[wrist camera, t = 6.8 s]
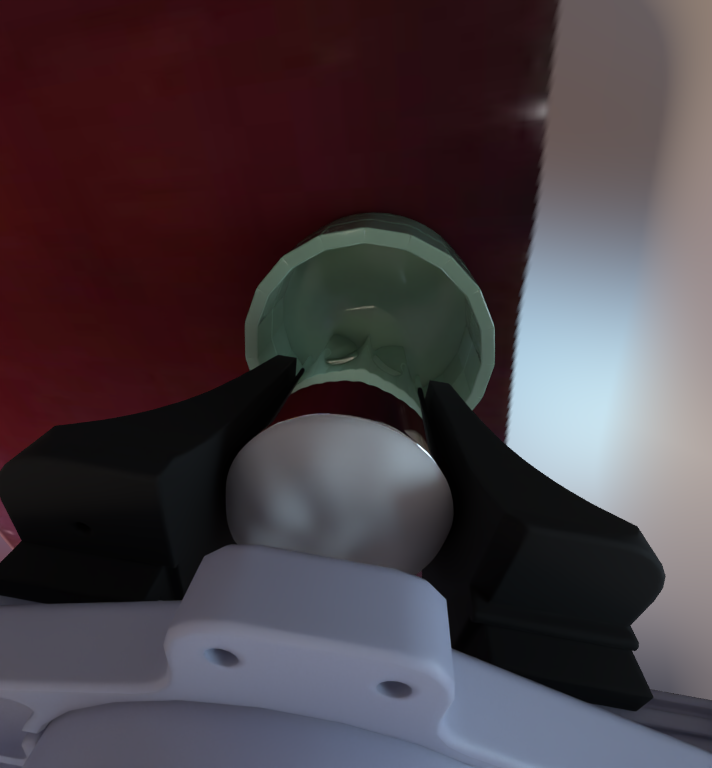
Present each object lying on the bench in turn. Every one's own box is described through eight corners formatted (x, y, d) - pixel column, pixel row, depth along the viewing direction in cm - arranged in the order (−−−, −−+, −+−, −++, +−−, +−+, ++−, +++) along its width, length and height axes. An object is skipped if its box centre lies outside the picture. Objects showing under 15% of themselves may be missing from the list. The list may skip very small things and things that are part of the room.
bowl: (445, 414, 21) (455, 472, 17) (275, 385, 21) (246, 436, 17) (502, 231, 16) (535, 254, 12) (280, 195, 16) (241, 207, 12)
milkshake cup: (304, 401, 16) (194, 672, 8) (314, 276, 13) (159, 483, 5) (409, 419, 16) (418, 715, 8) (441, 297, 13) (512, 547, 5)
